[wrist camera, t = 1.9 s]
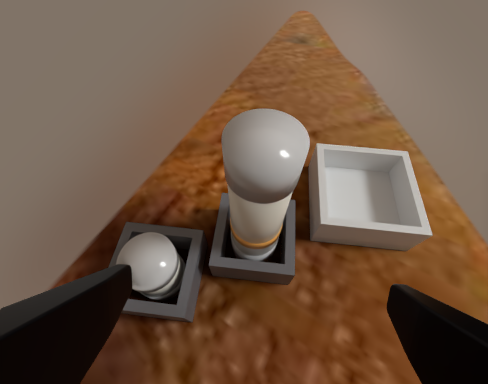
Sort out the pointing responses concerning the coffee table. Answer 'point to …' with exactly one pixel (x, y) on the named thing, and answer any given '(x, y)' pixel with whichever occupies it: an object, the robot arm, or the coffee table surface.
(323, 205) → the tray
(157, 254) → the white dome piece
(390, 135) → the coffee table surface
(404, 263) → the coffee table surface
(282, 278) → the grey square frame
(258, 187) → the white bulb-shaped piece
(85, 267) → the coffee table surface
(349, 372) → the coffee table surface
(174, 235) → the grey boxy piece
